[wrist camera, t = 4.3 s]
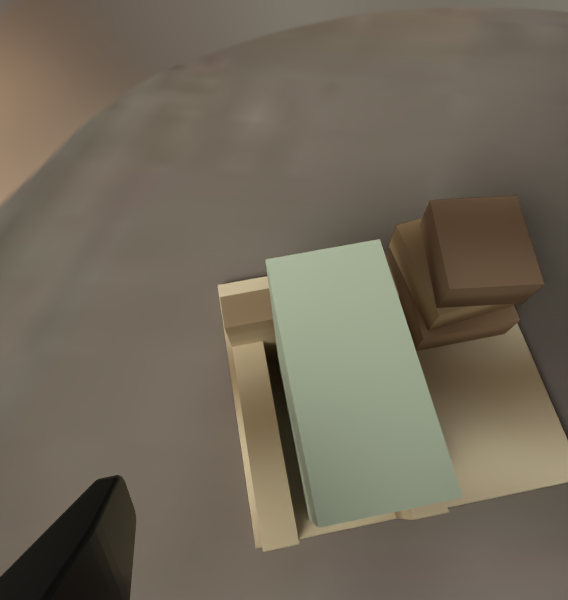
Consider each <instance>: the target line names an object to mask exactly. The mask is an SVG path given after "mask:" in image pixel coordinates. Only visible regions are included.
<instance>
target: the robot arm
mask: <svg viewBox="0 0 568 600" xmlns="http://www.w3.org/2000/svg"><path fill="white" fill-rule="evenodd" d="M135 530H136V514H135V509H134V506H133V503H132V501H131V498H130V495H129V492H128V489H127V486H126V483H125V481H124V479H123V478H122V477H121V476H119V475H115V476H110V477H105V478H101V479H98V480H96V481H95V482H94V483H93V484H92V485H91V486H90V487H89V488H88V489H87V490H86V491H85V492H84V493H83V494H82V495H81V496H80V497H79V498H78V499H77V500H76V501H75V502H74V503H73V504H72V505H71V506H70V507H69V508H68V509H67V510H66V511H65V512H64V513H63V514H62V515H61V516H60V517H59V518H58V519H57V520H56V521H55V522H54V523H53V524H52V525H51V526H50V527H49V528H48V529H47V530H46V531H45V532H44V533H43V534H42V535H41V536H40V537H39V538H38V539H37V540H36V541H35V542H34V543H33V544H32V545H31V546H30V547H29V548H28V549H27V550H26V551H25V553H24V554H23V555H22V556H21V557H20V558H19V559H18V560H17V561H16V562H15V563H14V564H13V565H12V566H11V567H10V568H9V569H8V570H7V571H6V572H5V573H4V574H3V575H2V576H1V577H0V600H130V590H131V578H132V566H133V554H134V542H135Z"/></svg>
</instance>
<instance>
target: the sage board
mask: <svg viewBox="0 0 568 600" xmlns="http://www.w3.org/2000/svg"><path fill="white" fill-rule="evenodd" d="M266 268H267V275H268V283H269V291H270V299H271V306H272V314H273V322H274V330H275V337H276V345H277V353H278V361H279V369H280V375H281V380H282V385H283V391H284V396H285V401H286V406H287V412H288V417H289V422H290V427H291V432H292V438H293V443H294V448H295V453H296V459H297V464H298V469H299V474H300V480H301V485H302V490H303V495H304V501H305V506H306V511H307V516H308V520H309V521H311V522H312V523H313V524H314V525H316V526H317V527H318V528H321V527H326V526H331V525H335V524H340V523H345V522H350V521H354V520H359V519H364V518H369V517H373V516H378V515H383V514H387V513H392V512H397V511H402V510H406V509H411V508H416V507H421V506H425V505H430V504H435V503H440V502H444V501H449V500H454V499H459V498H463V495H462V492H461V489H460V486H459V483H458V479H457V476H456V473H455V470H454V467H453V464H452V461H451V458H450V455H449V452H448V449H447V445H446V442H445V439H444V436H443V433H442V430H441V427H440V424H439V421H438V418H437V414H436V411H435V408H434V405H433V402H432V399H431V396H430V393H429V390H428V387H427V384H426V380H425V377H424V374H423V371H422V368H421V365H420V362H419V359H418V356H417V353H416V349H415V346H414V343H413V340H412V337H411V334H410V331H409V328H408V325H407V322H406V318H405V315H404V312H403V309H402V306H401V303H400V300H399V297H398V294H397V291H396V288H395V284H394V281H393V278H392V275H391V272H390V269H389V266H388V263H387V260H386V257H385V253H384V250H383V247H382V244H381V241H380V239H378V240H372V241H367V242H361V243H355V244H350V245H344V246H339V247H333V248H327V249H322V250H316V251H311V252H305V253H300V254H294V255H288V256H283V257H277V258H272V259H266Z"/></svg>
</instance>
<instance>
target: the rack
mask: <svg viewBox="0 0 568 600" xmlns="http://www.w3.org/2000/svg"><path fill="white" fill-rule="evenodd" d="M385 257H386V260H387V263H388V266H389V269H390V272H391V275H392V278H393V281H394V284H395V288H396V291H397V294H398V297H399V300H400V303H401V306H402V309H403V312H404V315H405V318H406V322H407V325H408V328H409V331H410V334H411V337H412V340H413V343H414V346H415V349H416V353H417V356H418V359H419V362H420V365H421V368H422V371H423V374H424V377H425V380H426V384H427V387H428V390H429V393H430V396H431V399H432V402H433V405H434V408H435V411H436V414H437V418H438V421H439V424H440V427H441V430H442V433H443V436H444V439H445V442H446V445H447V449H448V452H449V455H450V458H451V461H452V464H453V467H454V470H455V473H456V476H457V479H458V483H459V486H460V489H461V492H462V495H463V498H459V499H454V500H449V501H444V502H440V503H435V504H430V505H425V506H421V507H416V508H411V509H406V510H402V511H397V512H392V513H387V514H383V515H378V516H373V517H369V518H364V519H359V520H354V521H350V522H345V523H340V524H335V525H331V526H326V527H321V528H318V527H317V526H316V525H314V524H313V523H312V522H311V521H309V520H308V516H307V511H306V506H305V501H304V495H303V490H302V485H301V480H300V474H299V469H298V464H297V459H296V453H295V448H294V443H293V438H292V432H291V427H290V422H289V417H288V412H287V406H286V401H285V396H284V391H283V385H282V380H281V375H280V369H279V361H278V353H277V345H276V337H275V330H274V322H273V314H272V306H271V299H270V291H269V283H268V276H266V277H260V278H255V279H249V280H244V281H238V282H232V283H227V284H221V285H218V291H219V298H220V304H221V311H222V318H223V325H224V332H225V339H226V346H227V353H228V360H229V366H230V373H231V380H232V387H233V394H234V401H235V408H236V415H237V422H238V429H239V435H240V442H241V449H242V456H243V463H244V470H245V477H246V484H247V491H248V497H249V504H250V511H251V518H252V525H253V532H254V539H255V546H256V548H259V547H262V549H263V552H265V551H269V550H274V549H279V548H283V547H288V546H293V545H298V544H299V539H302V538H307V537H311V536H316V535H321V534H325V533H330V532H335V531H340V530H344V529H349V528H354V527H358V526H363V525H368V524H373V523H377V522H382V521H387V520H391V519H396V518H397V519H410V520H415V519H420V518H425V517H429V516H434V515H439V514H443V513H448V512H449V510H448V507H453V506H458V505H462V504H467V503H472V502H476V501H481V500H486V499H491V498H495V497H500V496H505V495H510V494H514V493H519V492H524V491H528V490H533V489H538V488H543V487H547V486H552V485H557V484H561V483H566V482H568V440H567V437H566V435H565V433H564V430H563V428H562V426H561V423H560V421H559V419H558V416H557V414H556V412H555V409H554V407H553V405H552V402H551V400H550V398H549V395H548V393H547V391H546V388H545V386H544V384H543V381H542V379H541V377H540V375H539V372H538V370H537V368H536V365H535V363H534V361H533V358H532V356H531V354H530V351H529V349H528V347H527V344H526V342H525V340H524V337H523V335H522V333H521V330H520V328H519V326H518V322H519V321H520V318H519V316H518V313H517V311H516V309H515V306H514V304H520V303H524V302H525V301H527V300H528V299H529V298H530V297H531V296H532V295H533V294H534V293H535V292H536V291H537V290H539V289H540V288H541V287H542V286H543V285H544V281H543V277H542V274H541V271H540V268H539V265H538V261H537V258H536V255H535V252H534V249H533V245H532V242H531V239H530V236H529V233H528V229H527V226H526V223H525V220H524V217H523V214H522V210H521V207H520V204H519V201H518V198H517V195H513V196H495V197H477V198H459V199H442V200H430V202H429V204H428V206H427V209H426V211H425V213H424V216H423V218H420V219H416V220H413V221H409V222H405V223H402V224H398V225H396V227H395V230H394V232H393V235H392V238H391V241H390V244H389V248H388V251H387V254H386V255H385Z"/></svg>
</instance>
